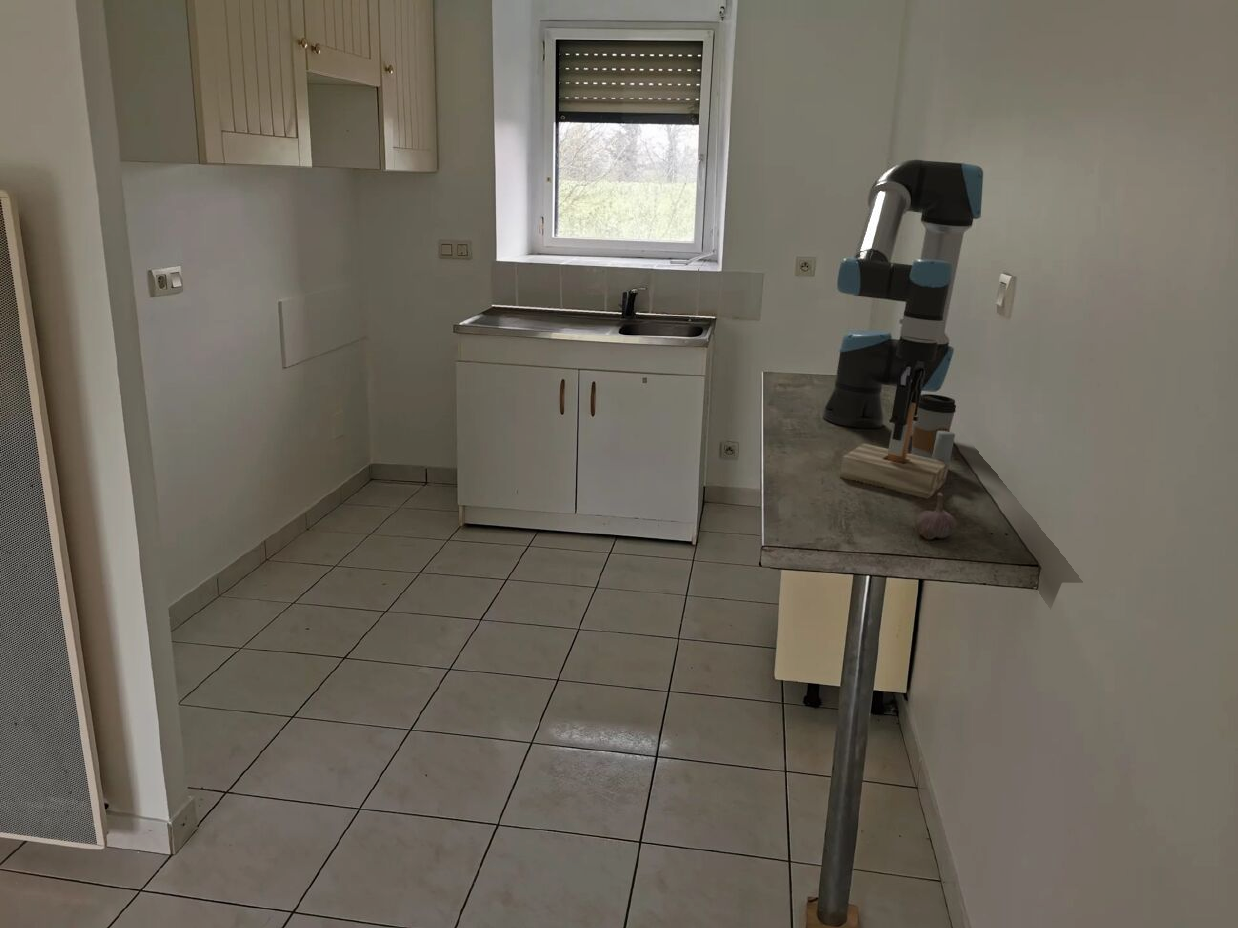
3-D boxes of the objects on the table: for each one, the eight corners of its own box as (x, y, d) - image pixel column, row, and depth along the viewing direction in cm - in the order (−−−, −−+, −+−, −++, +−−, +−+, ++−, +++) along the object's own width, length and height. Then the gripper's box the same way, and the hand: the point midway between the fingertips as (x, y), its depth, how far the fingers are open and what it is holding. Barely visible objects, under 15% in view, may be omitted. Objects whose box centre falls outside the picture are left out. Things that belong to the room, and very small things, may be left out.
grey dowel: (930, 475, 204) (939, 429, 202) (947, 479, 203) (956, 433, 200) (926, 478, 201) (935, 432, 199) (943, 482, 200) (952, 436, 197)
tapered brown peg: (888, 465, 199) (900, 399, 195) (905, 469, 198) (918, 403, 194) (883, 468, 196) (895, 402, 192) (900, 472, 195) (913, 405, 191)
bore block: (860, 463, 208) (863, 443, 207) (944, 483, 200) (948, 462, 198) (839, 477, 196) (843, 456, 195) (927, 498, 188) (932, 477, 187)
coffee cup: (928, 457, 218) (940, 393, 214) (952, 469, 211) (966, 402, 206) (897, 458, 215) (910, 393, 211) (921, 470, 208) (934, 402, 203)
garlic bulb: (923, 543, 163) (931, 499, 161) (903, 527, 170) (911, 485, 168) (963, 544, 165) (972, 500, 163) (942, 528, 172) (951, 486, 169)
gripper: (910, 332, 198) (890, 441, 205) (888, 339, 184) (867, 456, 191) (947, 338, 195) (925, 449, 201) (927, 346, 181) (905, 465, 187)
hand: (897, 452), depth 196 cm, fingers closed on tapered brown peg, 3 cm apart
